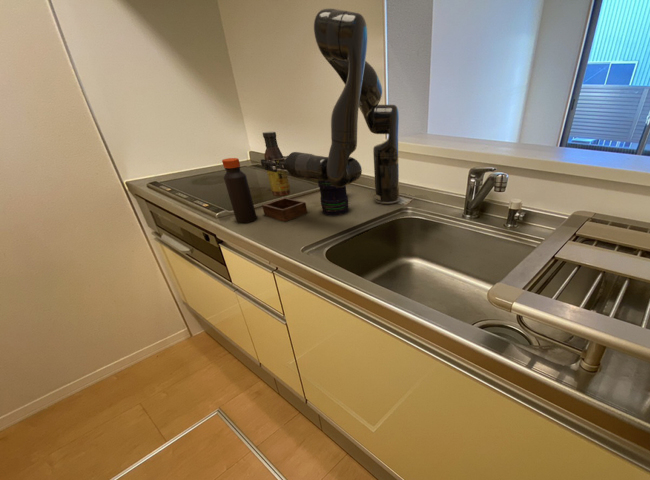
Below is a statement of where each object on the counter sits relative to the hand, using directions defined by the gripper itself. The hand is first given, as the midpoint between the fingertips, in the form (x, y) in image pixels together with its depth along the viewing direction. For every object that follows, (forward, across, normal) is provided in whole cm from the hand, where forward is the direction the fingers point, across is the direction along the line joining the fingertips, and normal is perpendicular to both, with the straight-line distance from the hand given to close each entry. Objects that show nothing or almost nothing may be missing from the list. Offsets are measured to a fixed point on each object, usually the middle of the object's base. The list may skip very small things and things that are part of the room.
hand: (270, 160), depth 115 cm
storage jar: (-15, -12, +18) cm, 27 cm away
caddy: (-2, 0, +18) cm, 18 cm away
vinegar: (+5, +11, +18) cm, 22 cm away
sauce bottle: (-2, 0, +11) cm, 11 cm away
